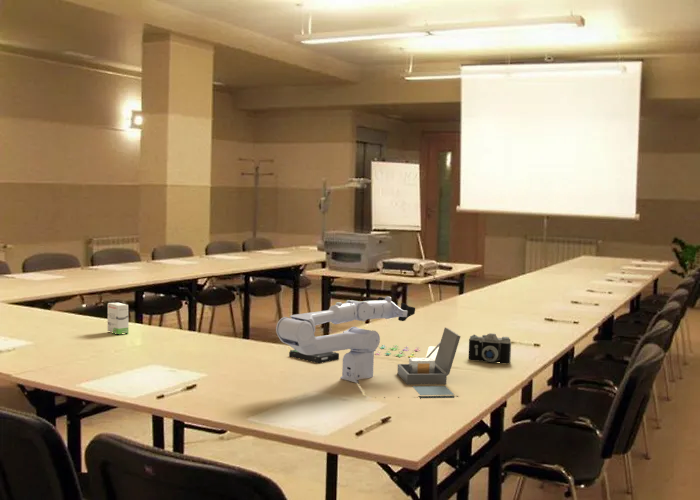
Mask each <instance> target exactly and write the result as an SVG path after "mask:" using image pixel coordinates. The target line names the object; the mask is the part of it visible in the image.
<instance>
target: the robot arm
mask: <svg viewBox="0 0 700 500" xmlns="http://www.w3.org/2000/svg"><path fill="white" fill-rule="evenodd" d="M398 305H399V303H398V302H395V301H392V297H391V296H385V297H382V296H379V297H378V298H377V300H363V301H360V300H359V301H358V300H353V299H351V300H350V299H347V300H346V301H345V302H344V303H343V302H340V301H339V302H338V301H337V302H335V304H332V305H330V306H329V308H328V309H327V310H320V311H313V312H312V311H311V312H304V313H296V314H292V315H289V317H288V316H284V317H283V316H282V317H281V318H280V319H279V320H278V322H276V327H275V333H276V335H277V337H278V338H279V340H280V342H281V343H283V344H286V345H288V346H289V347H291V348H292V349H293V350H297V351H298V352H300V353H301V354H305V355H314V354H321V353H327V352H339V351H345V350H346V351H347V350H349V352H345V354H344V355H343V357H342V368H341V369H342V371H341V372H342V373H341V374H342V375H341V376H340V377H339V378H340V379H342V380H345V381H349V382H353V383H355V384H360V381H359V380H363V379H371V378H373V377H374V363H375V362H374V359H375V352H377V349H378V348H379V345H380V341H381V336H380V333H379V332H378V331H376V330H370V329H365V328H360V327H357V326H351V327H349V328H348V329H346V330H343V331H342V332H341V333H333V334H328V335H327V334H326V335H319V336H318V335H317V336H316V335H315V332H316V326H319V325H322V324H325V323H331V324H334V325H338V324H344V323H349V322H354V321H361V322H366V321H367V320H378V319H386V320H388V319H389V320H390V319H395V318H398V319H397V320H398V321H400V322H405V321H406V320H407V319H408V318H409V317H411V316H413V315H415V313H416V307H415V306H414V307H413V306H410V305H408V304H406V303H404V302H401V304H400V307H399V306H398Z"/></svg>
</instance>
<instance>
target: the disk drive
mask: <svg viewBox="0 0 700 500" xmlns="http://www.w3.org/2000/svg"><path fill="white" fill-rule="evenodd" d="M288 353H289V354H288V356H292V357H291V358H293V357H296V358H295V359H298V358H300V359H299V360H302V359H304V360H303V361H306V360H308V361H307V362H310V361H312V362H311V363H314V362H315V363H314V364H323V363H326V362H332V360H333V361H337V360H340V353H338V352H337V351H333V352H327V353H321V354H314V355H305V354H301V353H300V352H298V351H297V350H295V349H290V350H289V352H288ZM322 362H323V363H322Z"/></svg>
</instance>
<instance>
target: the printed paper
mask: <svg viewBox="0 0 700 500" xmlns="http://www.w3.org/2000/svg"><path fill="white" fill-rule="evenodd" d="M435 347H436V346H433V345H432V346H430V345H429V346H428V348H427V352H426V355H425V358H426V357H427V356H428V355H429V354H430V353H431V351H432V350H433V349H434V348H435ZM379 349H381V350H382V349H386V346H385V344H381V346H380V347H379ZM438 349H439V347H438V348H437V349H436V350H435V351H434V352H433V353H432V354H431V355H430V357H429V358H432V359H433V360H434V361H435V359H436V355H437V352H438ZM391 350H392V351H394V352H395V351H397V350H400V351H399V352H398V353H395V354H393V357H394V356H397V357H398V358H401V357H402V356H403V357H404V356H406V353H404V351H405V352H408V351H409V350H410V348H409V346H408V345H406V347H404V349H402V350H401V349H400V347H399V345H396V344H395V345H393V347H389V350H387V351H386V352H384V355H386V356H389V355H392V352H391ZM419 351H420V347H419V346H416V347H415V349H414V352H419ZM414 352H412V353H411V354H410V355H408V356H407V358H408V357H409V358H416V356H415V355H416V353H414ZM380 353H381V352H380V350H378V351H377V350H376V352H375V355H376V356H380V355H381V354H380Z"/></svg>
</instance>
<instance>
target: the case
mask: <svg viewBox="0 0 700 500" xmlns="http://www.w3.org/2000/svg"><path fill="white" fill-rule="evenodd" d="M460 340H461V335H459V334H458V333H456V332H455V331H453V330H452V329H450V328H448V327H444V329H443V332H442V337H441V339H440V342H438V343H437V345H436V346H435V348H434V349H433V350H432V351H431V353H430V354H429V355H428V356H427V357H426V356H425V358H429V357H430V355H431V354H432V353H433V352H434V351H435V350H436V349H437V348H438V347H439V349H438V352H437V355H436V358H435V360H434V361H435V372H434V374H409V363H398V364H397V375H398V376H399V377H400V378H401V379H402V380H403V382H404V383H405V384H406V385H408V386H409V385H412V386H417V385H447V378H448V377H447V376H449V375H450V373H451V369H452V366H453V363H454V359H455V355H456V353H457V349H458V346H459V343H460Z"/></svg>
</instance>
